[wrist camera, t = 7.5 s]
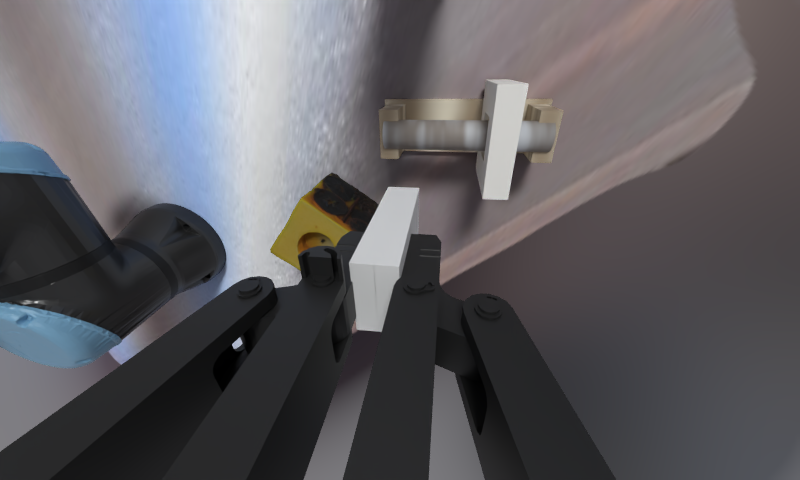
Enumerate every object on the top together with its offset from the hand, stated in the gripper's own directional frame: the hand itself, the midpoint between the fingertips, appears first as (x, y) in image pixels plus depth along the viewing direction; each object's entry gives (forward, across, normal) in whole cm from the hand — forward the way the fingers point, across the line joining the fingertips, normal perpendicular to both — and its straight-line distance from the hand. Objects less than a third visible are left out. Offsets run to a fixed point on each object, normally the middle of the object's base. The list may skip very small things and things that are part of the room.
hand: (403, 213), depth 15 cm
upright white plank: (+26, +7, 0) cm, 27 cm away
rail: (+26, +4, 0) cm, 26 cm away
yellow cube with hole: (+26, -13, -13) cm, 32 cm away
